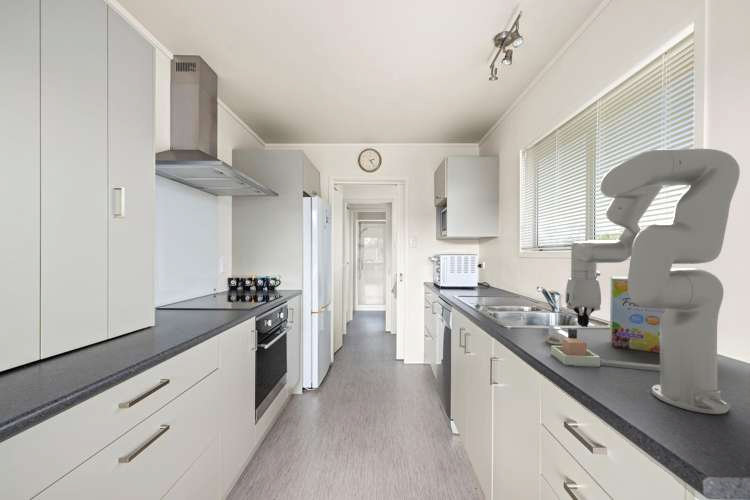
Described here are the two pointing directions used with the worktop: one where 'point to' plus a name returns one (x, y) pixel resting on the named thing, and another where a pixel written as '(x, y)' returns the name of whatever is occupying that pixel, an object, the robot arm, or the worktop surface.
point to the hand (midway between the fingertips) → (582, 325)
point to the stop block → (574, 347)
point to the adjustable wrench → (630, 365)
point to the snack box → (632, 320)
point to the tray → (575, 358)
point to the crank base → (553, 342)
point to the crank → (561, 333)
